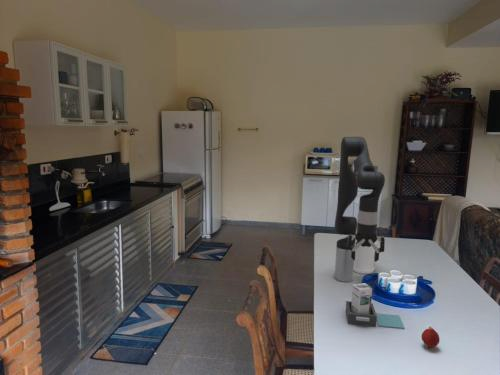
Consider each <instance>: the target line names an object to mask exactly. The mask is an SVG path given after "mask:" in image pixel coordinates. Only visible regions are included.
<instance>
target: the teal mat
mask: <svg viewBox="0 0 500 375" xmlns="http://www.w3.org/2000/svg"><path fill="white" fill-rule="evenodd" d="M376 315H377V323H376V324H377V326H378V328H379V327H381V328H387V329H388V328H389V329H391V328H392V329H398V330H399V329H401V330H405V329H406V328H405V325H404V323H403V320H402V319H401V316H400V315H399V314H390V313H389V314H388V313H379V312H376Z"/></svg>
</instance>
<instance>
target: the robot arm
mask: <svg viewBox="0 0 500 375" xmlns="http://www.w3.org/2000/svg"><path fill="white" fill-rule="evenodd" d="M340 143H341V144H340V166H339V179H338V180H339V181H338V186H337V204H336V205H337V207H336V213H335V220H334V232H335V234H338V235H347V236H346V237H344V238H340V239H337V241H336V248H335V249H336V250H335V265H334V279H335V280H336V281H339V282H344V283H347V282H348V283H350V282H352V281H353V278H354V271H353V268H354V260H355V250H356V249H357V248H358V247H359V246H360V245H361V246H362V247H364V246H367V247H370V246H372V247H373V248H374V250H375V256H374V261H375V263H376V262H378V261H379V260H380V259H379V258H380V253H384V252H385V237H384V235H380V236H376V235H377V232H378V231H377V230H378V223H379V220H378V218H379V217H378V216H379V214H378V209H379V200H380V196H381V193H382V191H383V189H384V187H385V182H386V179H385V175H384V173H383V172H381V171H376V170H375V166H374V165H373V162H372V160H371V158H370V153H369V152H370V151H369V147H368V144H367V140H366V139H365V138H364V137H363V136H344V137H342V139H341V142H340ZM350 157H354V158H355V157H356V158H355V161H354V164H353V165H354V166H353V167H354V169H355V171H356V174H355V173H354V171H353V170H352V168H351V166H350V162H349V158H350ZM359 189H360V190H367V191H370V190H372V191H371V192H370V193H367V194H363V195H361V196H360V197H359V202H358V203H359V204H358V213H357V218H356V217H355V216H347V215H346V216H345V212H346V210H347V209H348V207H350V206H351V204H352V203H353V202H354V201H355V200H356V198H357V196H358V192H359ZM356 230H357V233H356ZM355 238H356V240H357V241H356V243H355ZM377 241H378V242H379V248H378V246H377V247H376V245H375V244H374V243H375V242H377Z"/></svg>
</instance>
